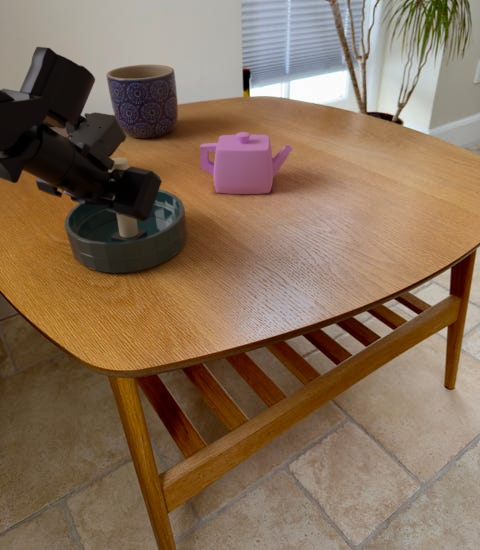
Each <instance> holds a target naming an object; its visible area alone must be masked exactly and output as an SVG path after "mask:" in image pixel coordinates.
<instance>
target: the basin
mask: <svg viewBox="0 0 480 550" xmlns="http://www.w3.org/2000/svg"><path fill="white" fill-rule="evenodd" d="M107 208H108V205H86V204H82V203H77V204H76V205H75V206H74V207H72V208H71V209H70V210H69V211H68V213H67V215H66V216H65V218H64V229H65V233H66V235H67V239H68V242H69V245H70V248H71V251H72V252H71V253H72V254H73V256H74V258H75V260H76V261H77V262H79V264H81V265H83V266H84V267H85V268H88V269H91V270H94V271H97V272H104V273H111V274H125V273H126V274H127V273H134V272H135V273H136V272H140V271H144V270H147V269H151V268H154V267H156V266H159V265H161V264H163V263H164V262H166V261H168V260H170V259H172V258H173V257H174V256H175V255H177V254H178V253H179V252H180V251H181V250H182V249H183V247H184V245H185V244H186V242H187V238H188V229H187V219H186V211H185V205H184V204H183V201H182V200H181V199H180V198H179V197H178V196H177V195H176V194H174V193H171V192H169V191H167V190H163V189H159V190H158V193H157V196H156V199H155V201H154V204H153V207H152V210H151V212H150V215H149V218H148V219H146V220H145V221H140V220H137V227H138V229H143V230H147V235H148V236H147V237H144V238H141V239H137V240H131V241H125V242H112V241H111V236H113V235H114V234H115V233H117V232H118V231H119V227H118V221H117V214H116V213H113V212H109V211H107Z"/></svg>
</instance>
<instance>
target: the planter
mask: <svg viewBox="0 0 480 550" xmlns="http://www.w3.org/2000/svg"><path fill="white" fill-rule="evenodd" d="M175 74H176V73H175V69H174V68H173V67H171V66H168V65H164V64H163V65H162V64H135V65H127V66H121V67H117V68H114V69H111V70H110V71H107V73H106V81H107V87H108V88H107V89H108V93H109V97H110V102H111V106H112V111H113V113H114V114H113V116H115V117H116V119H117V121H118V122H119V124H120V126H121V127H122V129H123V131H124V133H125V134H126V135H128V136H130V137H133V138H137V139H153V138H160V137H163V136H165V135H167V134H168V133H170V132H171V131H172V130H173V129H174V128H175V126H176V124H177V121H178V117H179V105H178V91H177V82H176V75H175Z"/></svg>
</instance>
